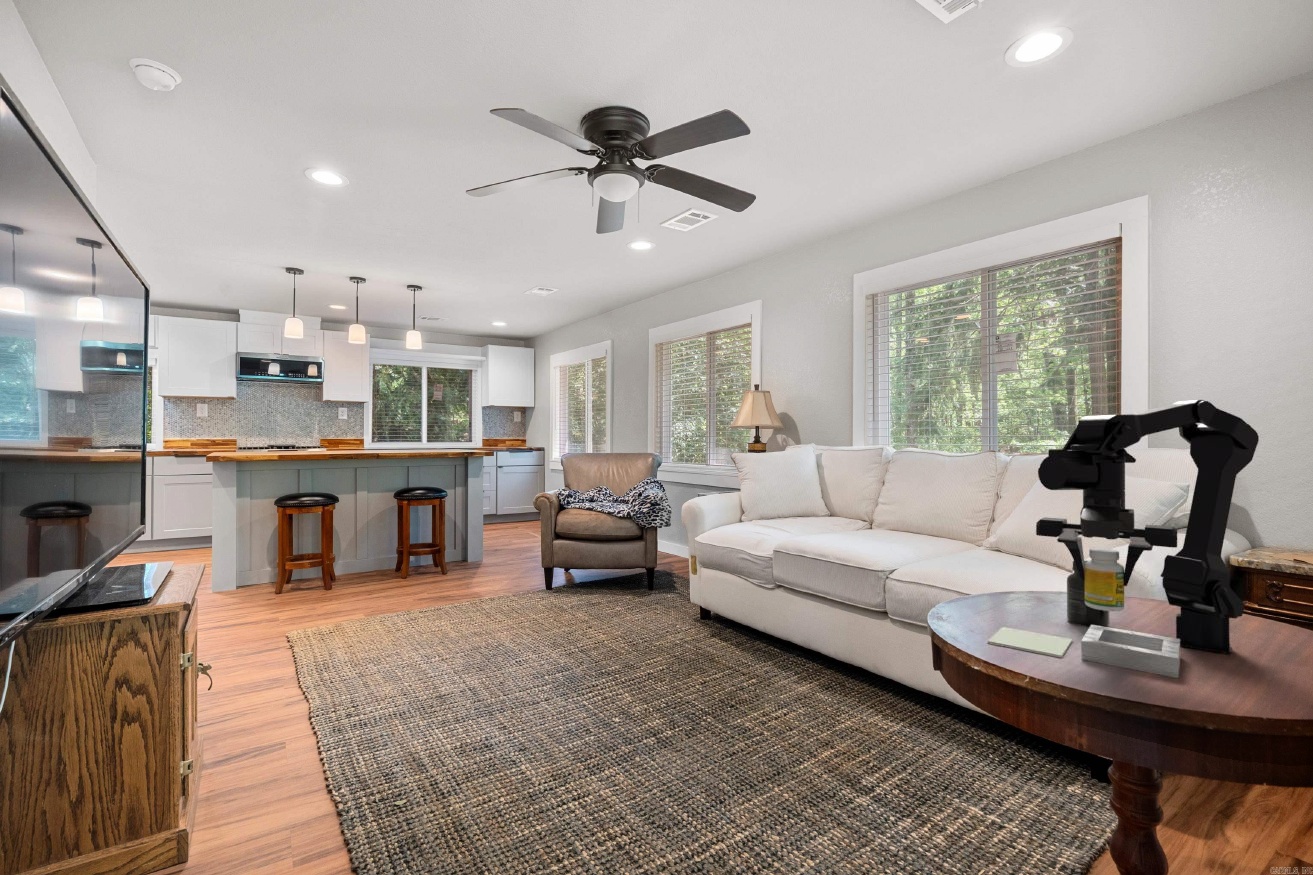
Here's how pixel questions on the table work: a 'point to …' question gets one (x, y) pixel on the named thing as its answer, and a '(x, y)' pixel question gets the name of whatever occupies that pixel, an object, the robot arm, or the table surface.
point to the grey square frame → (1132, 650)
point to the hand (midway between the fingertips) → (1103, 582)
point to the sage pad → (1031, 642)
